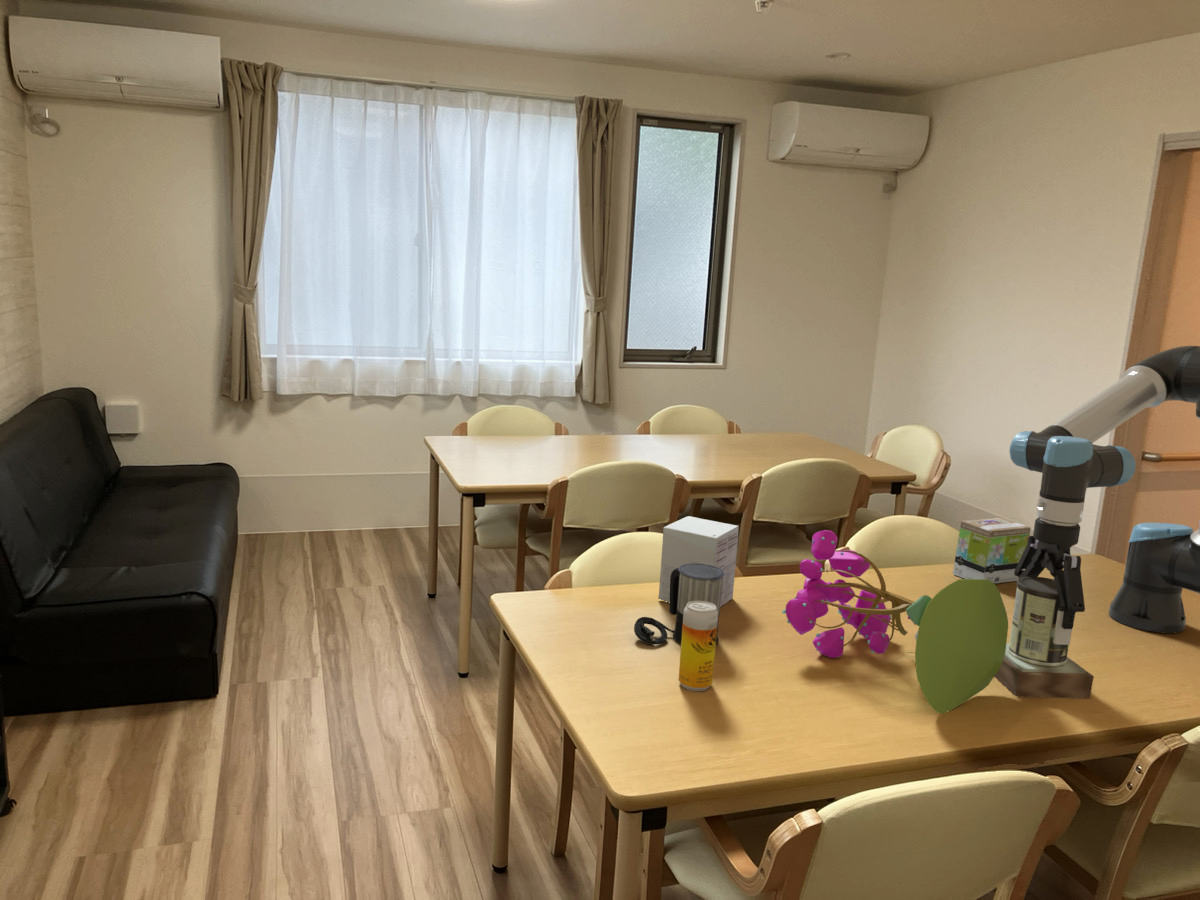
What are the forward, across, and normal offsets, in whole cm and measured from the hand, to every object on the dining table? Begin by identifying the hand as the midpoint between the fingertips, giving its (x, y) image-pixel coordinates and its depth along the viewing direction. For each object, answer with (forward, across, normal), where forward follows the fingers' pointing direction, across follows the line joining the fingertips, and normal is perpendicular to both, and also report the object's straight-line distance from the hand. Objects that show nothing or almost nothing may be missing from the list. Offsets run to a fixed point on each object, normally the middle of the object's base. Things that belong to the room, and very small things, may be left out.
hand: (1041, 629), depth 171 cm
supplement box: (+10, -38, -59) cm, 71 cm away
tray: (+10, 0, 0) cm, 10 cm away
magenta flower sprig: (+11, -5, -28) cm, 30 cm away
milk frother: (+10, -14, -67) cm, 69 cm away
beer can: (+10, +6, -66) cm, 67 cm away
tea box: (+11, -62, +21) cm, 66 cm away
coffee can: (+6, 0, 0) cm, 6 cm away
